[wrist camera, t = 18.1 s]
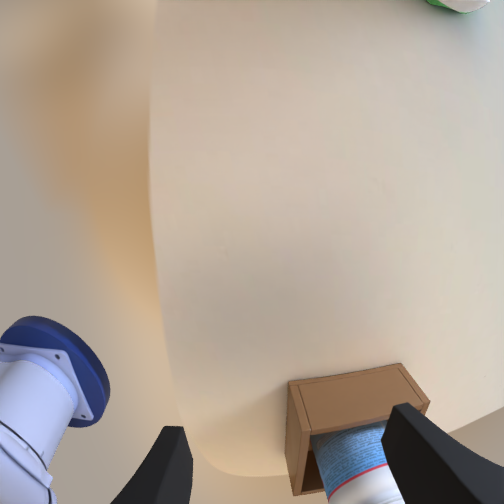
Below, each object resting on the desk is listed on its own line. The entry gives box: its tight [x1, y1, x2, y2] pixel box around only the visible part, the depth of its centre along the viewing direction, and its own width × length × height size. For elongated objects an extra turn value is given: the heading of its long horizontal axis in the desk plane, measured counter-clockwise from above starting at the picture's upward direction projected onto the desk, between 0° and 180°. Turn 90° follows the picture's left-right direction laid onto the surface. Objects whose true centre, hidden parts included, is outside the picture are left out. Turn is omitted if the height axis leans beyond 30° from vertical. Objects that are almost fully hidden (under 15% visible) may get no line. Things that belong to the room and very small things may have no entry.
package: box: [285, 363, 430, 496], centre depth 20 cm, size 9×9×5 cm
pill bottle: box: [310, 420, 405, 504], centre depth 17 cm, size 6×6×11 cm
